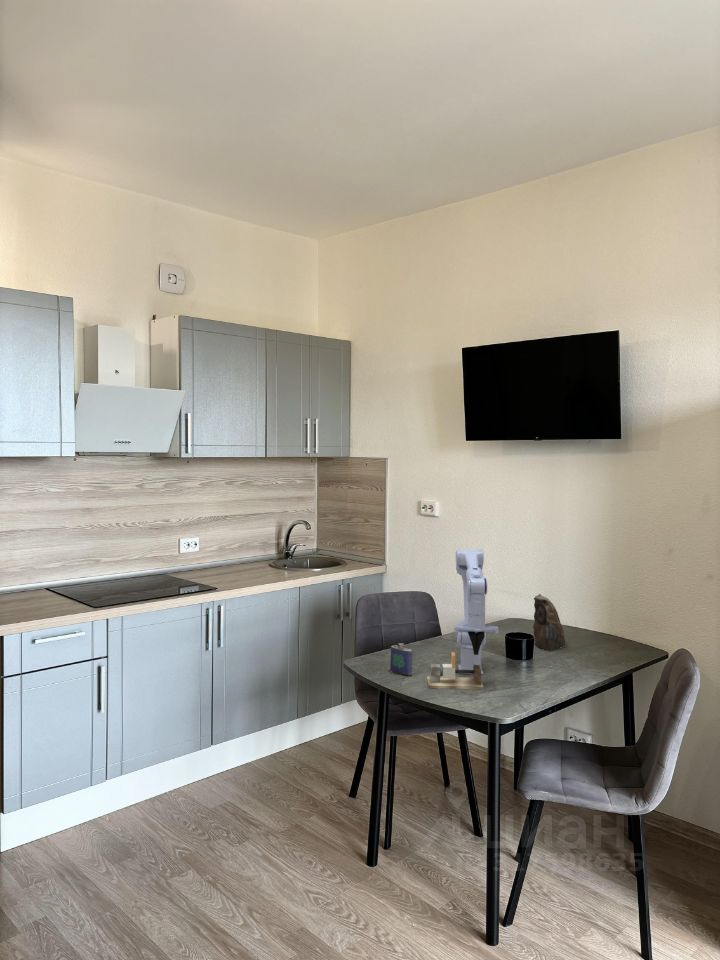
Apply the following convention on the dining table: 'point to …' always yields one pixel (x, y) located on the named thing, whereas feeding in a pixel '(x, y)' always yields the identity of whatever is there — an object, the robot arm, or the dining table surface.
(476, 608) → the robot arm
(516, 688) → the dining table surface
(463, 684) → the board
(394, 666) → the flask
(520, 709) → the dining table surface
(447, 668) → the sleeve
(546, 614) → the owl
